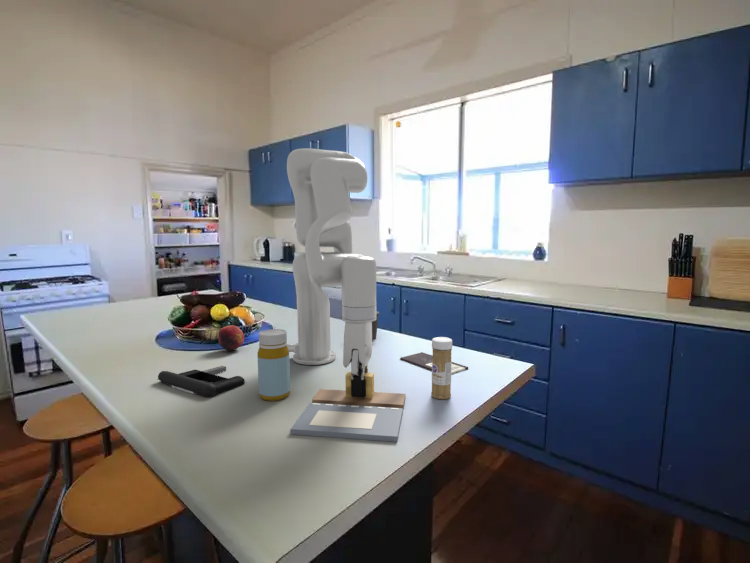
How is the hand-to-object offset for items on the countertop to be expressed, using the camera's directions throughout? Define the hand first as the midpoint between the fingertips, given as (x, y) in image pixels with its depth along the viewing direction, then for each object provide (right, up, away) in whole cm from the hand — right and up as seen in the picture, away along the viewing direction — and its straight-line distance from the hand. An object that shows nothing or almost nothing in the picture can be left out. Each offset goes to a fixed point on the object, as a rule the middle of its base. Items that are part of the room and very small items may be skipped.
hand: (359, 393), depth 92 cm
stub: (0, -2, 0) cm, 2 cm away
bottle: (-20, -2, +3) cm, 20 cm away
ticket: (-2, -3, -11) cm, 11 cm away
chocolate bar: (+20, +1, +25) cm, 32 cm away
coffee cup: (+1, +5, +54) cm, 54 cm away
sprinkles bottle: (+19, -1, +2) cm, 19 cm away
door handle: (-39, -1, +12) cm, 41 cm away
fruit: (-43, +3, +40) cm, 58 cm away
